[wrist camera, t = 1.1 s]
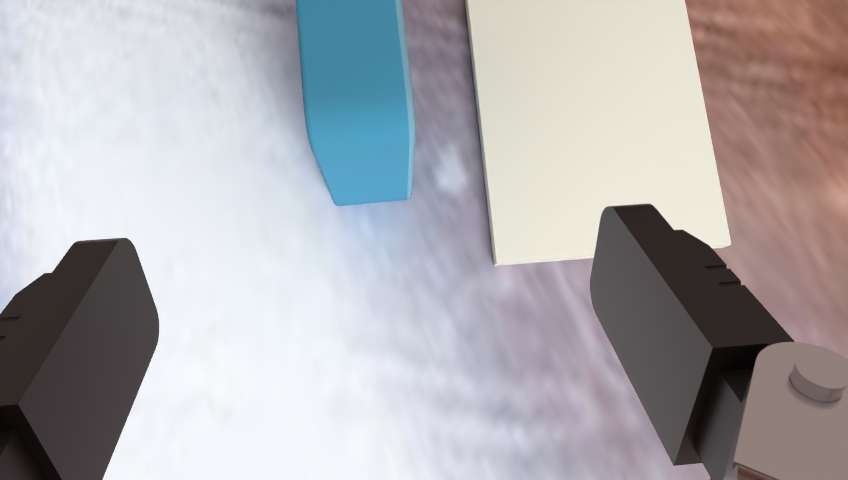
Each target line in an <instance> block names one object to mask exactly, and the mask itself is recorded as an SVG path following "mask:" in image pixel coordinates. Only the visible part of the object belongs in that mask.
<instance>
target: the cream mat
mask: <svg viewBox="0 0 848 480" xmlns="http://www.w3.org/2000/svg"><path fill="white" fill-rule="evenodd" d="M465 4H466V14H467V23H468V32H469V41H470V50H471V59H472V68H473V78H474V87H475V96H476V105H477V114H478V123H479V133H480V142H481V151H482V160H483V169H484V178H485V187H486V197H487V206H488V215H489V224H490V233H491V242H492V251H493V261H494V266H497V265H509V264H522V263H535V262H548V261H560V260H573V259H586V258H594V254H595V248H596V242H597V236H598V229H599V223H600V218H601V214H602V212H603V210H604V209H605V208H606V207H608V206H620V205H634V204H652V205H653V206H654V207H655V208H656V209H657V210H658V211H659V212H660V214H661V215H662V216H663V217H664V219H665V220H666V221H667V222H668V223H669V225H670V226H671V227H672V228H673V229H674V230H684V231H686V232H688V233H689V234H691V235H693V236H694V237H696V238H698V239H699V240H701V241H703V242H704V243H706V244H708V245H709V246H710V247H711V248H712V249H714V248H723V247H726V246H729V245H731V240H730V235H729V230H728V225H727V219H726V214H725V209H724V204H723V198H722V193H721V188H720V183H719V177H718V172H717V167H716V162H715V156H714V151H713V146H712V141H711V135H710V130H709V125H708V120H707V115H706V109H705V104H704V99H703V94H702V88H701V83H700V78H699V73H698V67H697V62H696V57H695V52H694V46H693V41H692V36H691V31H690V25H689V20H688V15H687V10H686V4H685V0H465Z"/></svg>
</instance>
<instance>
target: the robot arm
mask: <svg viewBox="0 0 848 480" xmlns="http://www.w3.org/2000/svg"><path fill="white" fill-rule="evenodd" d="M590 292H591V299H592V304H593V308H594V310H595V313H596V315H597V317H598V319H599V321H600V323H601V325H602V327H603V329H604V331H605V333H606V335H607V336H608V338H609V340H610V342H611V344H612V346H613V348H614V350H615V352H616V354H617V356H618V358H619V360H620V362H621V364H622V366H623V368H624V370H625V372H626V374H627V375H628V377H629V379H630V381H631V383H632V385H633V387H634V389H635V391H636V393H637V395H638V397H639V399H640V401H641V403H642V405H643V407H644V409H645V411H646V413H647V415H648V416H649V418H650V420H651V422H652V424H653V426H654V428H655V430H656V432H657V434H658V436H659V438H660V440H661V442H662V444H663V446H664V448H665V450H666V452H667V454H668V455H669V457H670V459H671V461H672V463H673V465H674V466H675V465H685V464H696V463H703V465H704V466H705V468H706V470H707V472H708V473H709V475H710V479H709V480H848V359H847V358H845V357H843V356H842V355H840V354H837V353H835V352H833V351H831V350H828V349H825V348H822V347H819V346H815V345H811V344H806V343H800V342H794V340H793V339H792V338H791V337H790V336H789V335H788V334H787V333H786V331H785V330H784V329H783V328H782V327H781V326H780V325H779V324H778V322H777V321H776V320H775V319H774V318H773V317H772V316H771V314H770V313H769V312H768V311H767V310H766V309H765V308H764V307H763V305H762V304H761V303H760V302H759V301H758V300H757V299H756V298H755V296H754V295H753V294H752V293H751V292H750V291H749V290H748V289H747V287H746V286H745V285H741V281H740V280H739V278H738V277H737V276H736V275H735V274H734V273H733V272H732V271H731V269H727V268H726V264H725V263H724V262H723V260H722V259H721V258H720V257H719V256H718V255H717V254H716V253H715V251H714V250H713V249H712V248H711V247H710V246H709V245H708V244H706V243H704V242H703V241H701V240H699V239H698V238H696V237H694V236H693V235H691V234H689V233H688V232H686V231H684V230H674V229H673V228H672V227H671V226H670V225H669V223H668V222H667V221H666V220H665V219H664V217H663V216H662V215H661V214H660V212H659V211H658V210H657V209H656V208H655V207H654V206H653V205H652V204H634V205H620V206H608V207H606V208H605V209H604V210H603V212H602V214H601V218H600V223H599V229H598V236H597V242H596V248H595V254H594V260H593V266H592V272H591V279H590ZM158 337H159V319H158V313H157V309H156V306H155V303H154V300H153V297H152V295H151V292H150V289H149V286H148V283H147V280H146V277H145V275H144V272H143V269H142V266H141V263H140V260H139V257H138V255H137V252H136V249H135V247H134V245H133V244H132V242H131V241H130V240H129V239H127V238H115V239H100V240H86V241H77V242H75V243H74V244H73V245H72V246H71V247H70V249H69V250H68V252H67V253H66V254H65V256H64V257H63V259H62V260H61V261H60V263H59V264H58V265H57V267H56V268H55V270H54V271H53V272H52V273H44V274H43V275H42V276H40V277H39V278H38V279H36V280H35V281H33V282H32V283H31V284H29V285H28V286H27V287H25V288H24V289H22V290H21V291H20V292H18V293H17V294H16V295H15V296H14V297H13V299H12V300H11V301H10V302H9V304H8V305H7V306H6V308H5V309H4V310H3V311H2V313H1V314H0V480H102V479H103V477H104V474H105V472H106V469H107V467H108V464H109V462H110V459H111V457H112V454H113V452H114V449H115V447H116V445H117V442H118V440H119V437H120V435H121V432H122V430H123V427H124V425H125V422H126V420H127V417H128V415H129V413H130V410H131V408H132V405H133V403H134V400H135V398H136V395H137V393H138V390H139V388H140V386H141V383H142V381H143V378H144V376H145V373H146V371H147V368H148V366H149V363H150V361H151V358H152V356H153V354H154V351H155V349H156V346H157V342H158Z"/></svg>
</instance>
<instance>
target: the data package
mask: <svg viewBox="0 0 848 480" xmlns="http://www.w3.org/2000/svg"><path fill="white" fill-rule="evenodd" d="M296 11H297V24H298V37H299V50H300V62H301V75H302V88H303V101H304V112H305V120H306V127H307V133H308V138H309V142H310V146H311V149H312V151H313V154H314V156H315V158H316V161H317V163H318V166H319V168H320V170H321V173H322V175H323V178H324V180H325V182H326V185H327V187H328V190H329V192H330V194H331V197H332V199H333V202H334V204H335V205H337V206H345V205H355V204H366V203H376V202H386V201H396V200H406V199H409V198H411V195H412V182H413V167H414V152H415V115H414V104H413V94H412V86H411V77H410V68H409V60H408V51H407V43H406V34H405V26H404V17H403V9H402V0H296Z"/></svg>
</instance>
